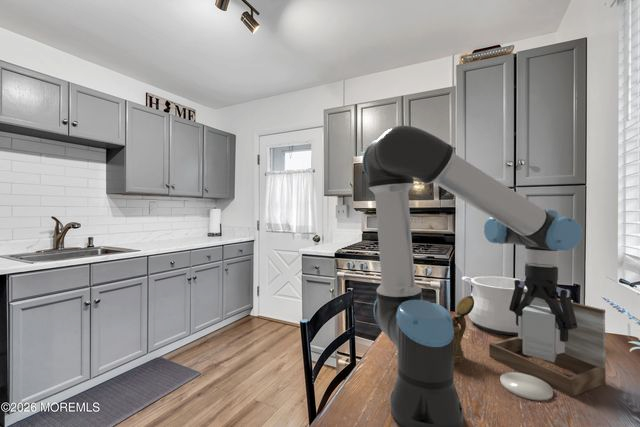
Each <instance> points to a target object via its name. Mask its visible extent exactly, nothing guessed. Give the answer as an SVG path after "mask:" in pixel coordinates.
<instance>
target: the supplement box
mask: <svg viewBox="0 0 640 427" xmlns="http://www.w3.org/2000/svg"><path fill="white" fill-rule="evenodd" d="M555 328H558V324H557V322H556V320H555V315H554V314H552V312H551V310H550V308H546V307H540V306H534V305H528V306H526V307H525V308H524V309H523V351H522V354H523V355H525V356H529V357H534V358H536V359H539V360H544V361H546V360H547V361H546V362H549V361H551V362H555V359H556V356H557V353H555ZM551 362H550V363H551Z"/></svg>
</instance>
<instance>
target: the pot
mask: <svg viewBox="0 0 640 427" xmlns="http://www.w3.org/2000/svg"><path fill="white" fill-rule="evenodd" d="M469 279H470V280H469ZM461 280H462V281H464V282H467V283H469V284H470V285H471V287H472V289H471V290H472V291H471V294H470V296H472V297H473V299H474V307H473V309H472V311H471V312H470V313H469V314H468V315H467V316H468V318H469V319H470V321H471V322H472V324H474V325H475V326H477V327H478V328H481V329H483V330H485V331H489V332H491V333H495V334H500V335H506V336H515V337H518V326H517V325H516V314H515V313H514V312H513V311H510V310H509V307H510V304H511V300H512V296H513V292H514V289H515V284H514V281H515V280H521V279H520V278H514V277H506V276H494V275H492V276H490V275H489V276H487V275H486V276H485V275H484V276H475V277H470V276H462V277H461ZM523 280H524V281H525V279H523ZM527 290H528V289H527V287H526V286H525V287H524V291H526V292H527Z"/></svg>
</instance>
